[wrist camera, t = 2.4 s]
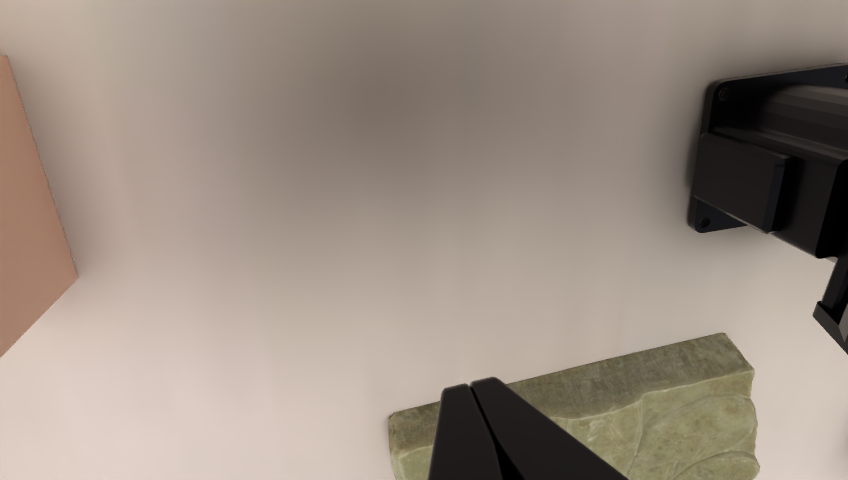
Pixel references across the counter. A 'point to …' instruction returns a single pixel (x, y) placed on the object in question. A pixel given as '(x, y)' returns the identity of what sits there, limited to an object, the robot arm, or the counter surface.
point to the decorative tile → (632, 413)
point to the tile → (26, 224)
